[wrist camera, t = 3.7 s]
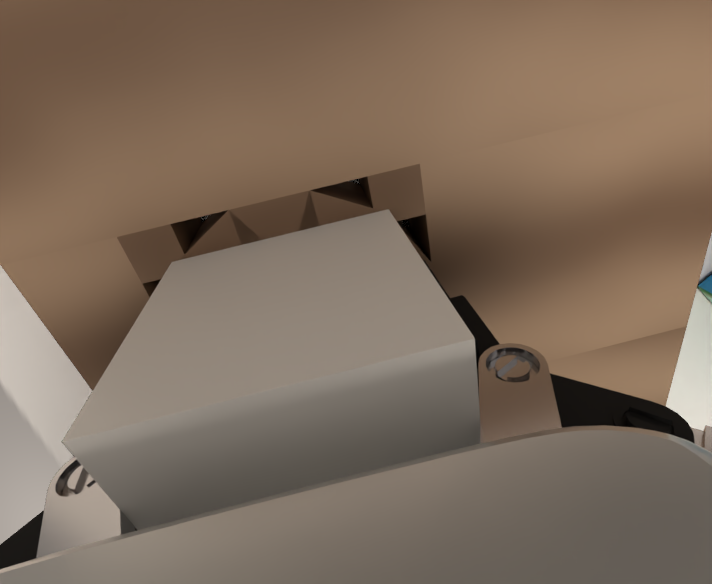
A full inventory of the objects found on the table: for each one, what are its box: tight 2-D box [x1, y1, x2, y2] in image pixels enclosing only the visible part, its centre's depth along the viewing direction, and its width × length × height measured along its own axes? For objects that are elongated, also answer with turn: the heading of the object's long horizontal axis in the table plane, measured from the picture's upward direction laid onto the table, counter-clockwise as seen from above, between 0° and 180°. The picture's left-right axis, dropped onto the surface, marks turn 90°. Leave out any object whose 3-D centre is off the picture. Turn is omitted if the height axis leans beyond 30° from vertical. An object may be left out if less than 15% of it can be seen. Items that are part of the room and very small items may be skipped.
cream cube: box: [62, 209, 480, 530], centre depth 10 cm, size 6×6×6 cm
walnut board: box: [0, 0, 712, 406], centre depth 14 cm, size 25×20×2 cm
